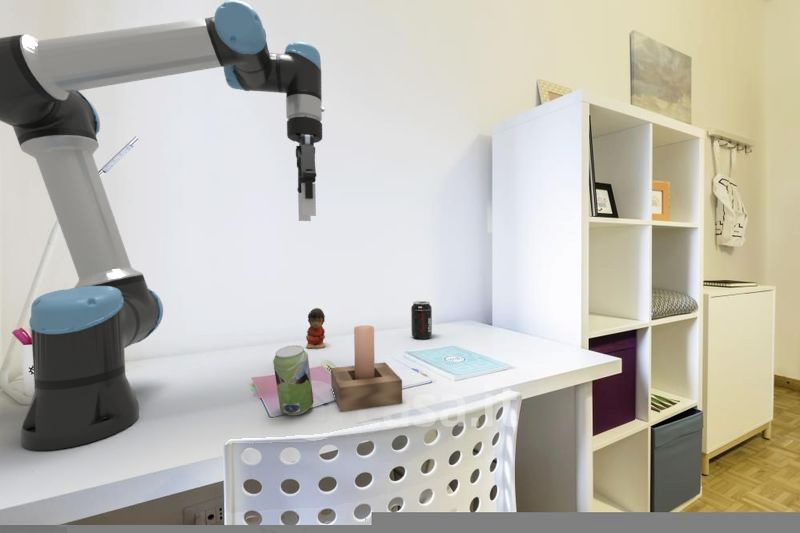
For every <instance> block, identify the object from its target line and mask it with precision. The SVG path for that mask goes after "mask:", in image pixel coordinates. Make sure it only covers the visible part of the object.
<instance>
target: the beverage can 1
mask: <svg viewBox="0 0 800 533" xmlns="http://www.w3.org/2000/svg"><path fill="white" fill-rule="evenodd" d="M272 361H273V362H272V363H273V369H274V376H275V382H276V389H277V396H278V403H279V404H278V405H279V409H280V412H282V413H283V414H285V415H288V416H298V415H302V414H304V413H306V412H307V411H308V410H309V409H311V407H312V406H313V405H314V396H313V394H314V393H313V386H312V379H311V378H312V377H311V371H310V362H309V356H308V353H307V352H306V350H305V348H304V347H303V346H301V345H288V346H285V347H281V348H279V349H278V350H277V351H275V355H274V357H273V360H272Z"/></svg>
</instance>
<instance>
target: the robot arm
mask: <svg viewBox="0 0 800 533" xmlns="http://www.w3.org/2000/svg"><path fill="white" fill-rule="evenodd" d="M263 25H264V24H263V23H262V20H261V18H260V16H259V14H258V12H257V11H256V10H255V9H254V8H253V7H252V6H251V5H250V4H248V3H247V2H244V1H241V0H225V1H224V2H223V3H222V4H221V5H219V6H218V7H217V8H216V10H215V12H214V16H212V17H206V18H197V19H191V20H190V19H189V20H183V21H175V22H174V21H173V22H168V23H162V24H161V23H160V24H152V25H151V24H150V25H144V26H139V27H131V28H129V27H128V28H124V29H116V30H107V31H101V32H100V31H99V32H93V33H85V34H78V35H70V36H62V37H55V38H47V39H40V38H37V37H36V36H33V35H32V34H29V33H25V34H24V33H23V34H17V35H12V36H11V35H10V36H5V37H0V122H2V123H4V124H7V125H9V126H11V127H12V128H13V131H14V134H15V136H16V139H17V141H18V144H19V147H20V149H21V151H22V152H23V153H24V154H27V155H29V156H30V157H32V158H34V159H35V160H36V164H37V166H38V169H39V171H40V174H41V177H42V180H43V182H44V185H45V188H46V191H47V194H48V196H49V200H50V202H51V205H52V208H53V210H54V212H55V215H56V219H57V222H58V224H59V226H60V227H59V228H60V230H61V232H62V236H63V238H64V241H65V243H66V246H67V249H68V251H69V254H70V257H71V260H72V263H73V266H74V268H75V269H74V270H76V274H77V277H78V281H77V283H76V285H74V287H70V288H68V289H58V290H53V291H50V292H47V293H45V294H42V295H39V296H37V298H35V300H34V301H33V302H32V304H31V305H30V306H31V309H30V318H29V327H30V331H31V334H30V335H31V348H32V363H33V364H32V365H33V367H32V368H33V377H34V378H33V382H34V383H33V384H34V394H33V396H32V398H31V402H30V404H29V407H28V410H27V412H26V415H25V418H24V420H23V424H22V426H21V430H20V433H21V434H20V435H21V445H22V447H23V448H25V449H28V450H32V451H49V450H50V451H51V450H62V449H66V448H71V447H77V446H81V445H85V444H89V443H92V442H95V441H100V440H102V439H104V438H108V437H110V436H113V435H114V434H115V435H116V434H117V433H119V432H122V431H123V430H126V429H127V428H129V427H130V426H131V425H133V424H134V423H135V422H136V421H137V420H138V419H139V417H140V405H139V400H138V398H137V397H136V395H135V392H134V391H133V388H132V386H131V385H130V382H129V380H128V378H127V374H126V365H125V364H126V360H125V358H126V356H125V349H126V348H128V347H130V346H132V345H134V344H138V343H141V342H142V341H143V340H145V339H147V338H148V337H149V336H150V335H151V334H153V332H155V330H156V329H157V328H158V327H159V326H160V324H161V322H162V319H163V316H164V306H163V303H162V300H161V298H160V297H159V295H158V294H157V293H156V292H155V291H154V290H151V289H150V288H148V285H147V282H146V280H145V277H144V274H143V273H142V272H141V271H139V270H136V269H134V268H133V267H132V265H131V262H130V259H129V256H128V254H127V251H126V248H125V245H124V242H123V238H122V236H121V233H120V230H119V228H118V225H117V222H116V219H115V216H114V213H113V210H112V207H111V204H110V202H109V199H108V196H107V193H106V189H105V186H104V184H103V181H102V179H101V176H100V173H99V170H98V166H97V164H96V161H95V158H94V153H95V152H96V151H97V150H98V148H99V142H98V139H97V135H98V133H99V132H100V129H101V128H100V127H101V123H100V122H101V121H100V117H99V114H98V112H97V110H96V108H95V106H94V105H93V103H92V102H90V100H89V99H88V98H87V97H85V96H84V94H82V92H81V91H84V90H91V89H95V88H101V87H108V86H114V85H120V84H121V85H122V84H126V83H131V82H133V83H134V82H138V81H143V80H150V79H157V78H162V77H167V76H173V75H180V74H185V73H191V72H192V73H193V72H198V71H205V70H209V69H210V70H211V69H216V68H223V73H224V77H225V81H226V83H227V86H229V87H230V88H232V89H234V90H240V91H245V92H251V91H252V92H265V93H266V92H267V93H280V94H281V93H282V94H286V98H285V109H286V111H285V112H286V114H285V115H286V118H287V121H286V131H287V132H286V136H287V138H288V139H289V140H290V141H292V142H297V143H298V144H299V145H296V148H295V157H296V168H297V188H296V189H297V198H298V200H297V201H298V206H297V207H298V221H299V222H311V221H312V220H311V217H316V216H317V208H316V207H317V206H316V204H317V203H316V201H317V200H316V197H317V196H316V180H317V172H316V146H314V144H317V143H320V142H321V141H322V140H323V124H322V120H323V117H322V116H323V115H322V114H323V113H324V112H325V107H322V98H323V97H322V64H321V55H320V52H319V51H318V50H319V49H317V48H316V47H315V46H313V45H312V44H310V43H307V42H303V41H297V42H290V43H288V44H287V45H286V47H285V49H284V53H274V52H270V50H269V47H268V42H267V34H266V29H265V28H264V26H263Z"/></svg>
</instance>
